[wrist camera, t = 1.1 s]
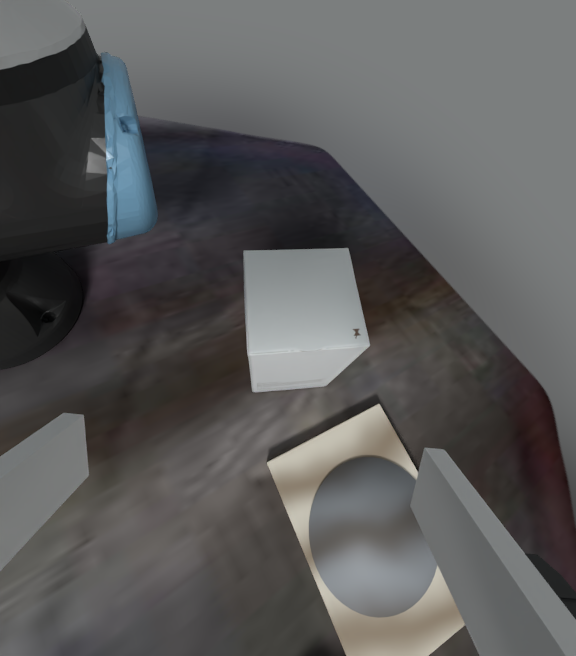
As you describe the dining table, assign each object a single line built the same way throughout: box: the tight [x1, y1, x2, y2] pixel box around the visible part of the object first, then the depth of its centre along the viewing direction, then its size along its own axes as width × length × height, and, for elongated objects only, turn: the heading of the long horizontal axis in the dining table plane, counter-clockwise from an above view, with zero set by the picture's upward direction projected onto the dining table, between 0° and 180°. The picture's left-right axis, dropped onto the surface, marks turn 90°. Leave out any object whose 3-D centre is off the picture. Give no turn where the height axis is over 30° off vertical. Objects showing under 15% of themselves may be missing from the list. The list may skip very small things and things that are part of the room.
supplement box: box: [243, 248, 370, 392], centre depth 29 cm, size 9×9×15 cm
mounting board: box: [267, 404, 465, 656], centre depth 29 cm, size 20×14×1 cm
